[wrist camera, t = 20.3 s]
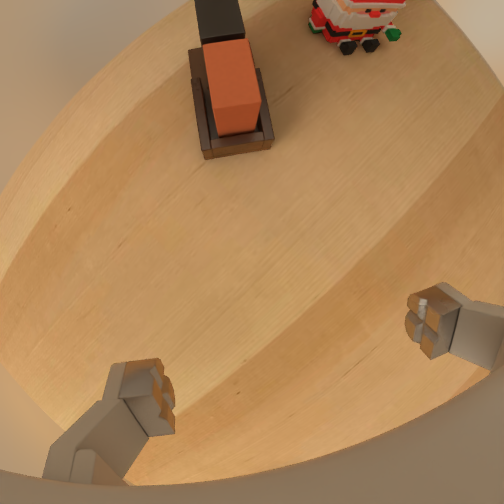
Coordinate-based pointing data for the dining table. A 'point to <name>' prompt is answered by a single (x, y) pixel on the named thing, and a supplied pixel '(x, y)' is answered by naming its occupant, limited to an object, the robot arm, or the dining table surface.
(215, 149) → the mount
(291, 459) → the dining table surface
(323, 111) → the dining table surface
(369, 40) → the figurine
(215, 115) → the orange rectangular block
